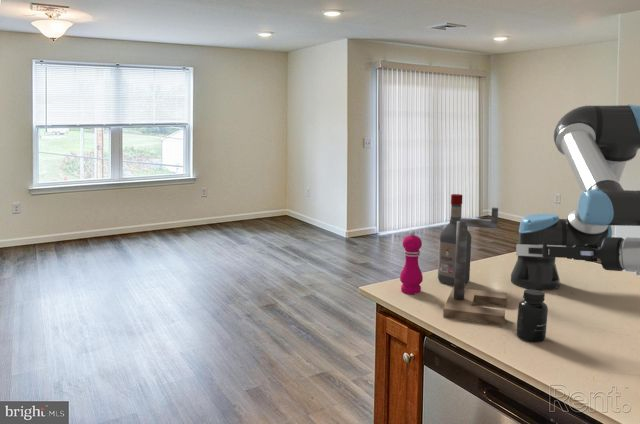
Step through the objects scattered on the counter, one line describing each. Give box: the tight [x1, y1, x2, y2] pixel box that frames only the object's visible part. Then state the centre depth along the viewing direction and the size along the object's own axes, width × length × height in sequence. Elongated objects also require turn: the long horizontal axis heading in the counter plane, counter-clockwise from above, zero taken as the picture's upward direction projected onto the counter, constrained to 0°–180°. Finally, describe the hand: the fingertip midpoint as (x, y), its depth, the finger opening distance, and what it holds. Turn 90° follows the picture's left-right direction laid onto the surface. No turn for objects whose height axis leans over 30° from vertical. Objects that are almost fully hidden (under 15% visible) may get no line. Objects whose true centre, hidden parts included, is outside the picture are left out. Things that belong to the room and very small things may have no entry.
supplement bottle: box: [515, 288, 549, 343], centre depth 126 cm, size 7×7×12 cm
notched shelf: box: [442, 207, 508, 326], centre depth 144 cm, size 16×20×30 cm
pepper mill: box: [399, 230, 424, 295], centre depth 161 cm, size 7×7×20 cm
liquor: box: [437, 193, 472, 287], centre depth 170 cm, size 9×9×30 cm
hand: (528, 249), depth 126 cm, fingers open, 13 cm apart
